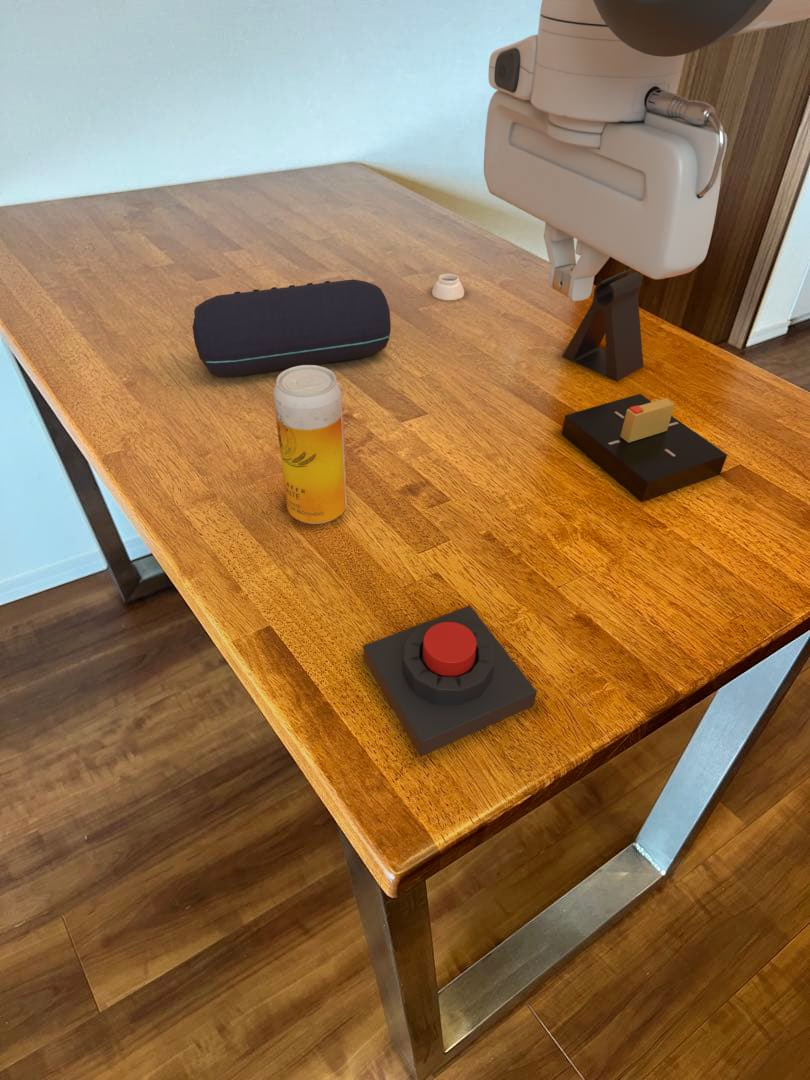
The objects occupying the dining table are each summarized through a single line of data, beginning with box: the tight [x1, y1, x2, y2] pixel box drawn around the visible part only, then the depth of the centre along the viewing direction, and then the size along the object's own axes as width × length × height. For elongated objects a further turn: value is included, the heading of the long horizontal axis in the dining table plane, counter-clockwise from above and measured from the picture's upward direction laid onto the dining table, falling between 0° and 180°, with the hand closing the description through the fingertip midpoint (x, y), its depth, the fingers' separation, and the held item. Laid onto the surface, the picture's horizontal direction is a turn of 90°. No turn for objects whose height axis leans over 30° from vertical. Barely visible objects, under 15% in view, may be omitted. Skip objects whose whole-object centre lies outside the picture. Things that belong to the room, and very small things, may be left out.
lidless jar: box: [431, 273, 465, 301], centre depth 113 cm, size 5×3×5 cm
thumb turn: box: [620, 397, 676, 443], centre depth 79 cm, size 6×1×4 cm, turn 117°
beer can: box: [272, 365, 348, 525], centre depth 70 cm, size 6×6×15 cm
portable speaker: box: [191, 278, 392, 377], centre depth 94 cm, size 25×10×10 cm, turn 109°
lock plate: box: [561, 393, 728, 503], centre depth 81 cm, size 14×11×3 cm
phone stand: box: [561, 268, 644, 382], centre depth 94 cm, size 9×6×12 cm, turn 43°
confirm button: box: [423, 622, 476, 677], centre depth 56 cm, size 4×4×2 cm
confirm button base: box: [362, 605, 538, 757], centre depth 57 cm, size 10×10×4 cm
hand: (568, 293), depth 54 cm, fingers closed
